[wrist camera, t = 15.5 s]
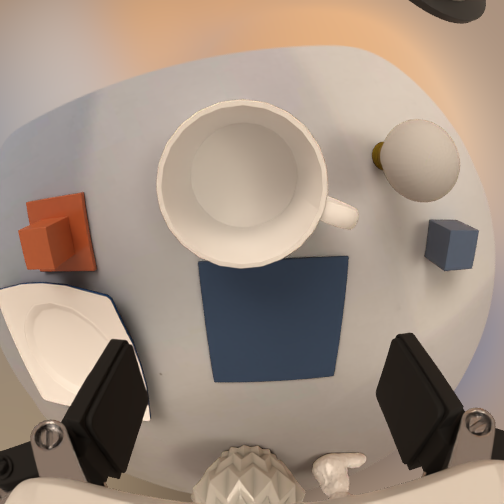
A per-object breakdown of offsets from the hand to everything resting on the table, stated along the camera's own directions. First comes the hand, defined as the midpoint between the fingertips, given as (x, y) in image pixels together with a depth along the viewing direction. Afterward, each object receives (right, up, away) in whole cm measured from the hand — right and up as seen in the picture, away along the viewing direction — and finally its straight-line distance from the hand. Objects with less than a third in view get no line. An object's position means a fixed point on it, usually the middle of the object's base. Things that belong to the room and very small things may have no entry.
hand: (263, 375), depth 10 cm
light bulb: (+11, +13, +15) cm, 23 cm away
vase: (-1, -28, +29) cm, 40 cm away
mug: (0, +11, +16) cm, 19 cm away
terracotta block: (-20, +6, +16) cm, 27 cm away
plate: (-23, -8, +22) cm, 33 cm away
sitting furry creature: (+13, -31, +30) cm, 45 cm away
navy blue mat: (+2, -3, +20) cm, 21 cm away
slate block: (+20, +6, +17) cm, 27 cm away
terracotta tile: (-20, +6, +17) cm, 27 cm away
